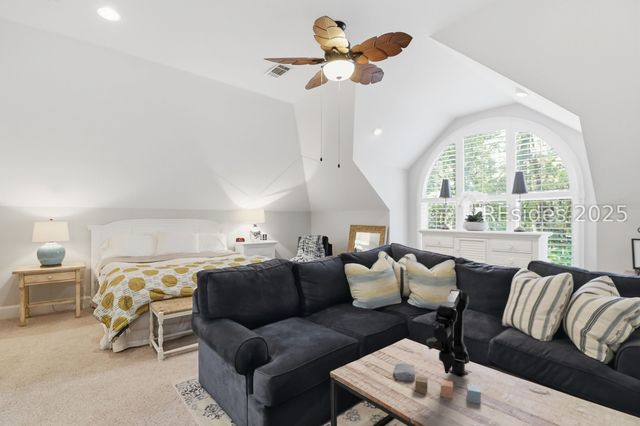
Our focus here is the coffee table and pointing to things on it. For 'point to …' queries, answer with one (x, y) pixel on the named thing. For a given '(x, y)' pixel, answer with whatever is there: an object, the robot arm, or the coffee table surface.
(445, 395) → the terracotta block
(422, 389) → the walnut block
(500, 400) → the coffee table surface
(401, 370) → the stone block
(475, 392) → the slate blue block
